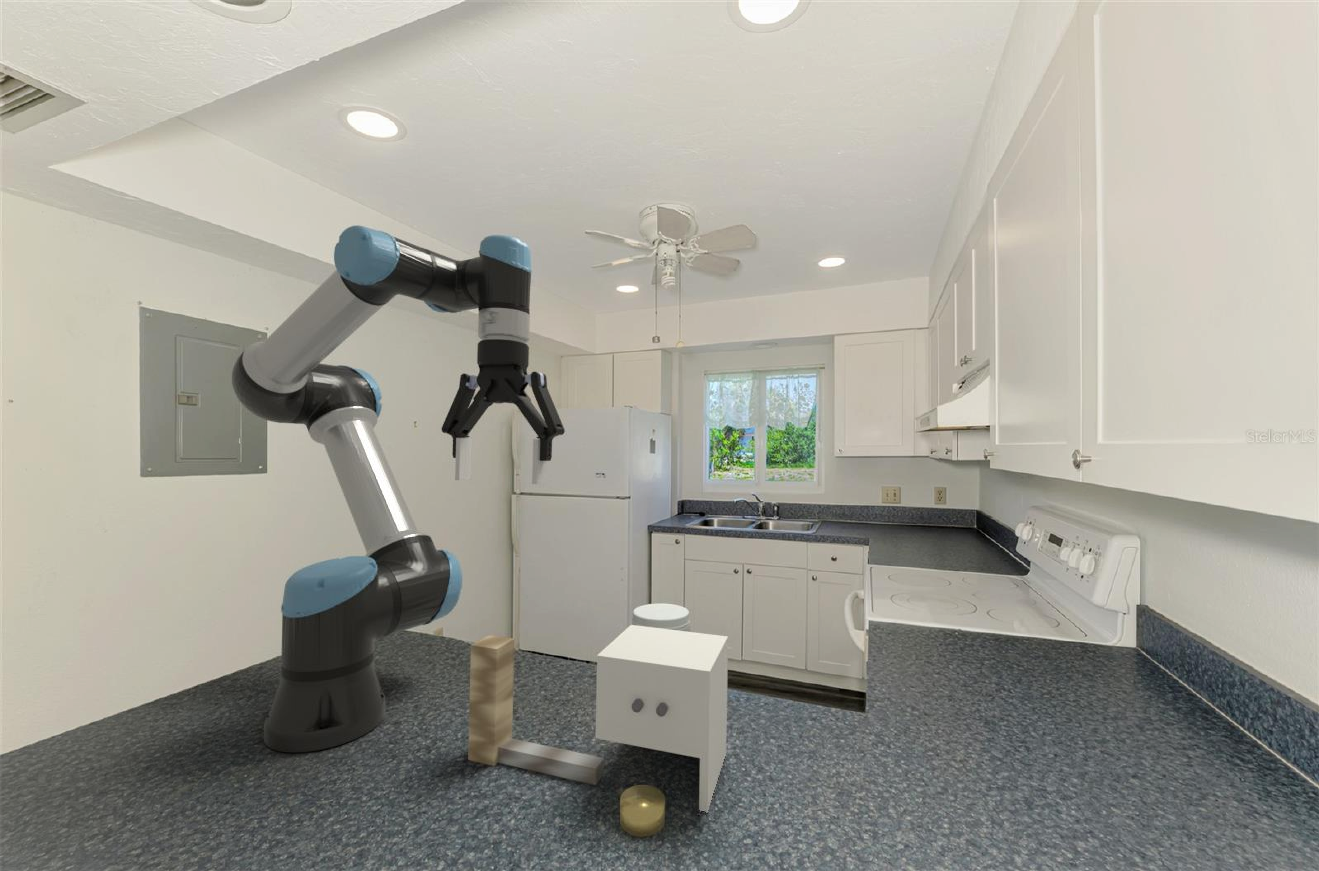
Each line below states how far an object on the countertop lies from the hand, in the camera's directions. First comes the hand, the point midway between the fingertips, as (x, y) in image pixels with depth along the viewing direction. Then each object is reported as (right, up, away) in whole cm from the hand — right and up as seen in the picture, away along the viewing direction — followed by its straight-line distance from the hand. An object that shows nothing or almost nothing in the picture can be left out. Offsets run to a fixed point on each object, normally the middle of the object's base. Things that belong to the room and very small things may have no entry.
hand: (500, 481), depth 82 cm
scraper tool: (+8, -36, -12) cm, 39 cm away
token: (+22, -36, -22) cm, 48 cm away
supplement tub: (+24, -37, +6) cm, 44 cm away
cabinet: (+25, -36, -13) cm, 45 cm away
